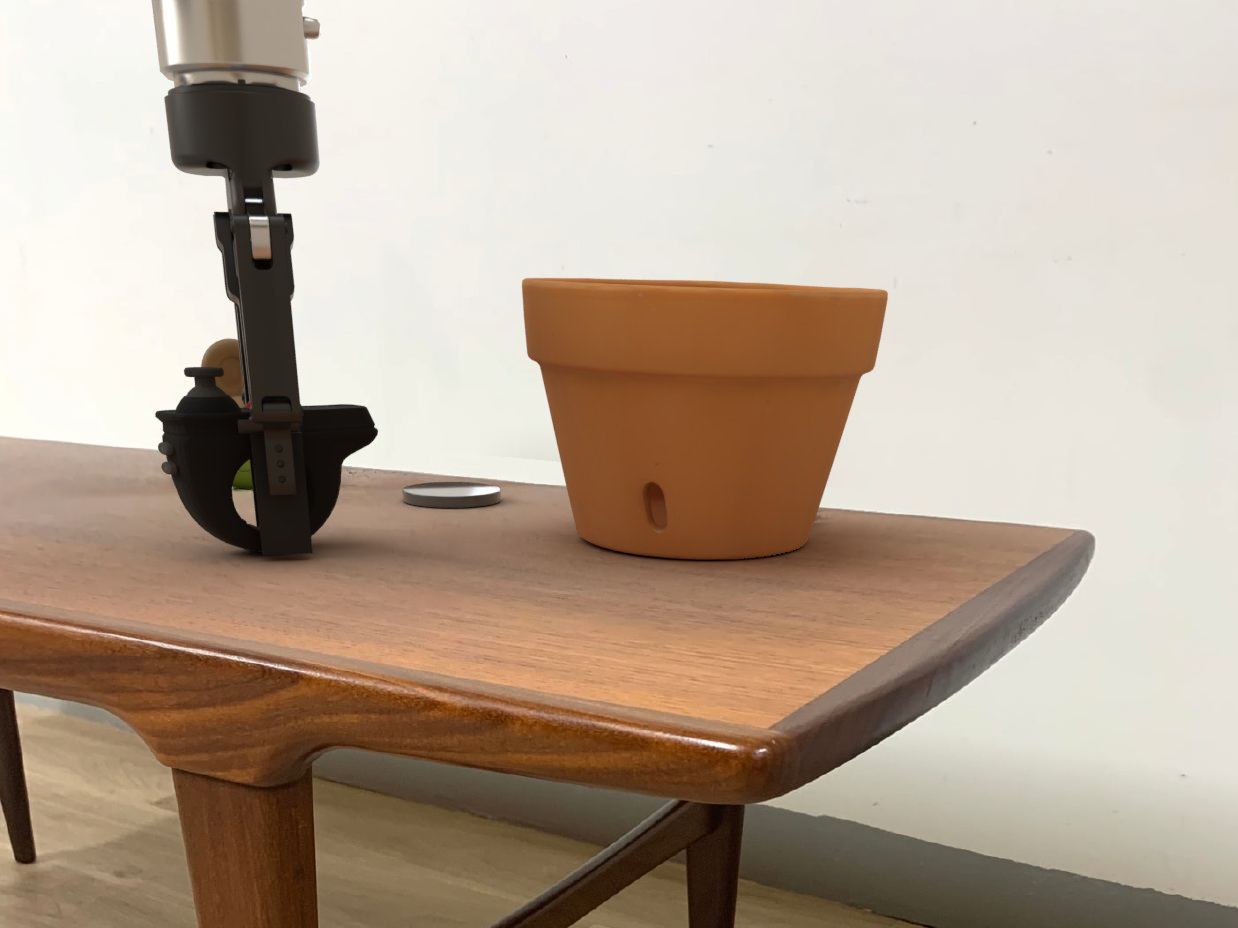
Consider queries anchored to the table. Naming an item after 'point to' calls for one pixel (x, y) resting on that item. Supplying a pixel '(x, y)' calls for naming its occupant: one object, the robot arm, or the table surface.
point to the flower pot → (698, 406)
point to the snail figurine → (229, 387)
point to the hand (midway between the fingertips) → (284, 543)
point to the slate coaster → (451, 494)
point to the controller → (250, 455)
